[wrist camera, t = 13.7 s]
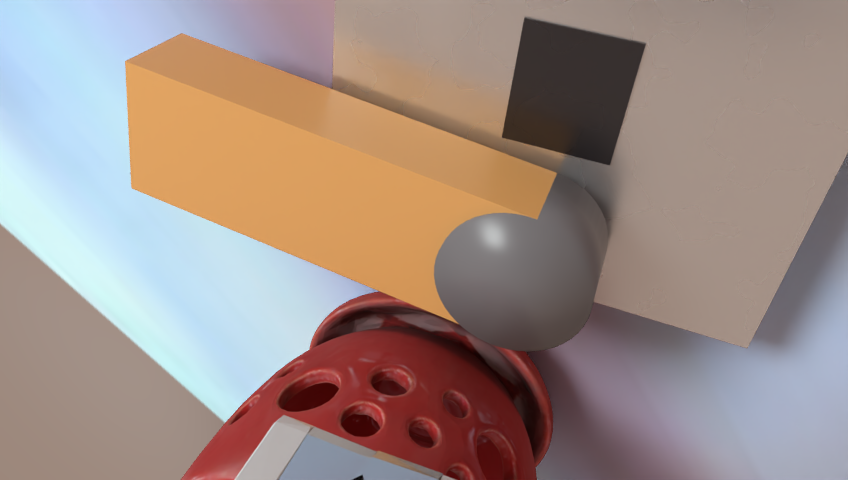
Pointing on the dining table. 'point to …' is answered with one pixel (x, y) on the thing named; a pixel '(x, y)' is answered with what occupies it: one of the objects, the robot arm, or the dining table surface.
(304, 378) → the plant pot
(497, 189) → the swing bar
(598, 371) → the dining table surface
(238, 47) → the dining table surface
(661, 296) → the panel
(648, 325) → the dining table surface
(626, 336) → the dining table surface
